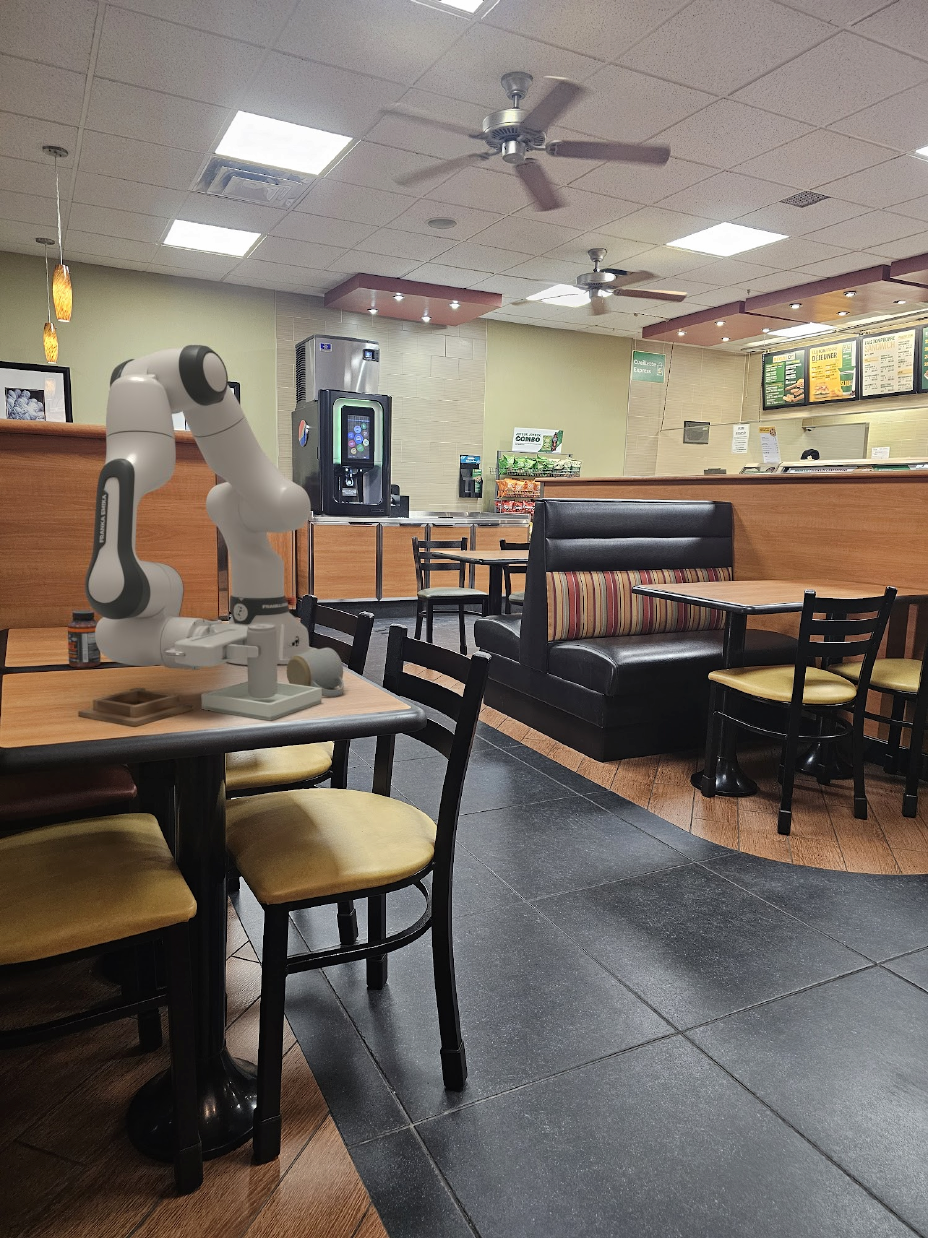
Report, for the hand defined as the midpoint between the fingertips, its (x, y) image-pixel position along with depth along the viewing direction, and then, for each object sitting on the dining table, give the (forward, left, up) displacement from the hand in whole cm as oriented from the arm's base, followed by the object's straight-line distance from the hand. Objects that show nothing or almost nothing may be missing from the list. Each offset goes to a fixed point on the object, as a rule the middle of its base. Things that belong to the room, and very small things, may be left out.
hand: (266, 648), depth 132 cm
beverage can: (0, -1, -8) cm, 8 cm away
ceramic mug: (-14, +1, -10) cm, 17 cm away
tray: (0, -1, -10) cm, 10 cm away
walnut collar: (+14, -15, -10) cm, 23 cm away
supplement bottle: (-8, -53, -10) cm, 54 cm away
